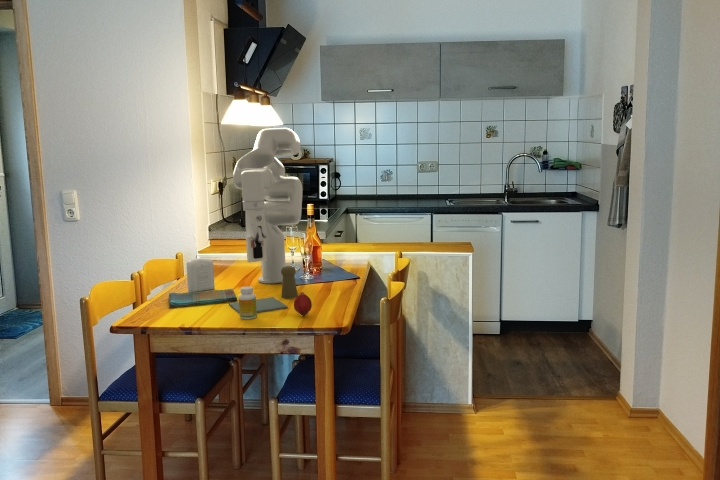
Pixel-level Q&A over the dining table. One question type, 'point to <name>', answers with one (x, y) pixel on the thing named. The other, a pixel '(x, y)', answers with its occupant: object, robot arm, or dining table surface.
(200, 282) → the photo printer
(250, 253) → the card box
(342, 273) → the dining table surface
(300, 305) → the onion
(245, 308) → the supplement bottle
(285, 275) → the pepper shaker
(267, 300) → the mat
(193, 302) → the dish towel
